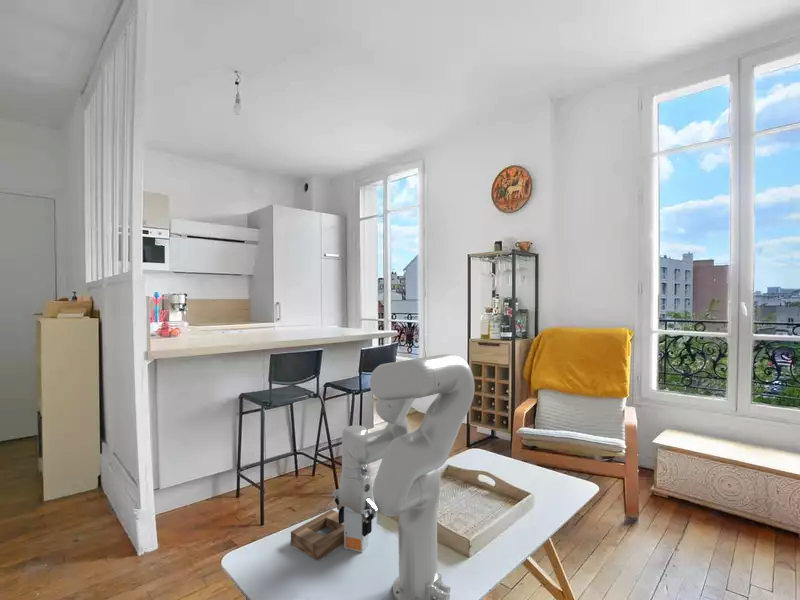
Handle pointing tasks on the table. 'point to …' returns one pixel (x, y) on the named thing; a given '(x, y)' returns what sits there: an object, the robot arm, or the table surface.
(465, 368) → the robot arm
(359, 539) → the skincare box
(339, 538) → the socket block
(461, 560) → the table surface
